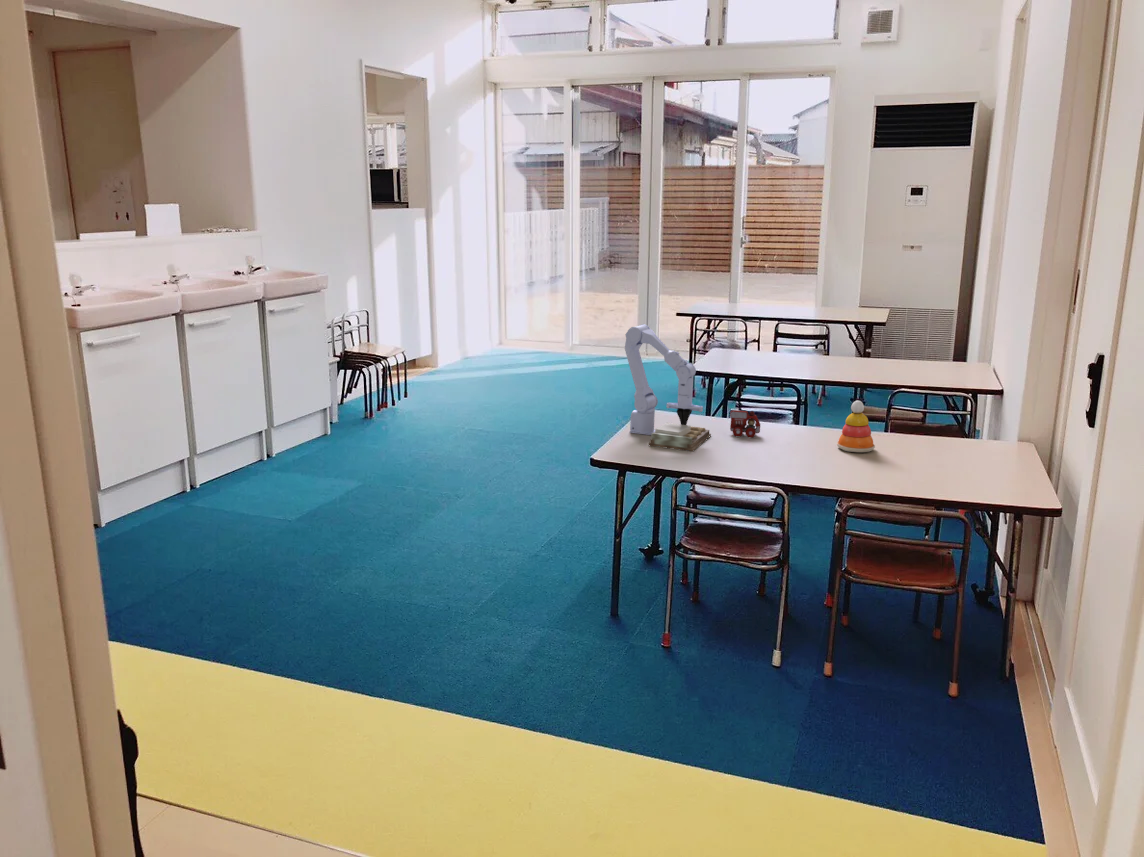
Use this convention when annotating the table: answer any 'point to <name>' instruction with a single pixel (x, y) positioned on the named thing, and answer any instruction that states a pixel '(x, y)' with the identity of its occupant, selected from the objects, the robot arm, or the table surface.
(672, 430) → the stone slab
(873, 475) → the table surface
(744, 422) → the toy fire truck
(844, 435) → the stacking toy
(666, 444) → the brown-green flat block
